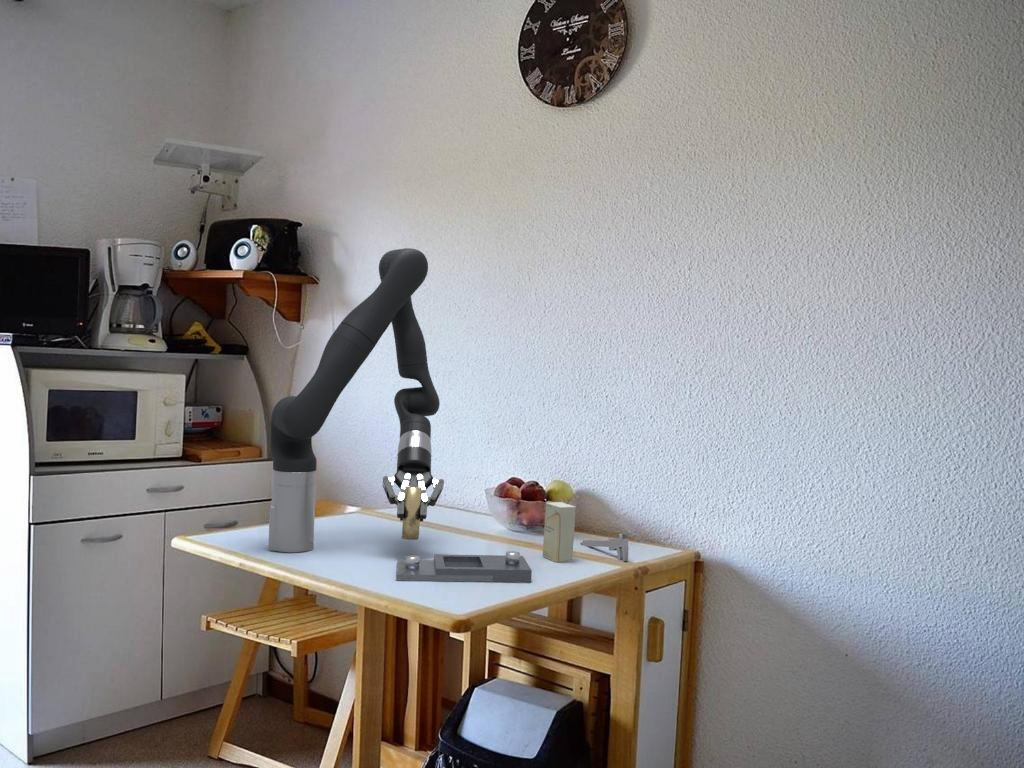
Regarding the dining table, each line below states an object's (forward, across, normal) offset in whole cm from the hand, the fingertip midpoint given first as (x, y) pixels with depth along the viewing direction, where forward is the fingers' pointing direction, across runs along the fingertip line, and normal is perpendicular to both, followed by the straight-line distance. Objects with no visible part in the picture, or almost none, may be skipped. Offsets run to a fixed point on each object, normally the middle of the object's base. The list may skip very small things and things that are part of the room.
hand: (411, 518), depth 187 cm
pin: (+2, 0, +5) cm, 5 cm away
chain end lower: (+14, +7, -2) cm, 16 cm away
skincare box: (+3, +32, +9) cm, 34 cm away
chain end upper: (+14, +14, -2) cm, 20 cm away
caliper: (-3, +44, +14) cm, 47 cm away
